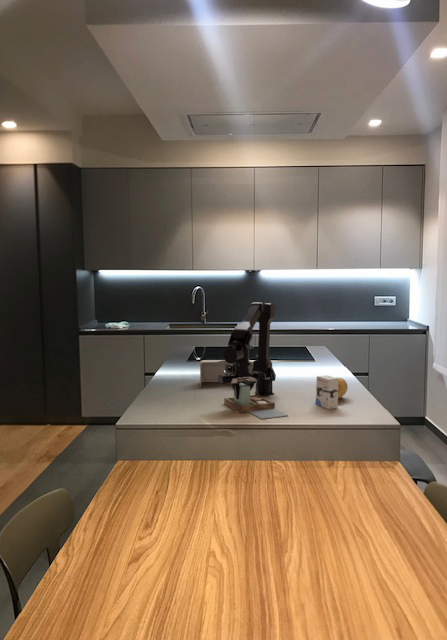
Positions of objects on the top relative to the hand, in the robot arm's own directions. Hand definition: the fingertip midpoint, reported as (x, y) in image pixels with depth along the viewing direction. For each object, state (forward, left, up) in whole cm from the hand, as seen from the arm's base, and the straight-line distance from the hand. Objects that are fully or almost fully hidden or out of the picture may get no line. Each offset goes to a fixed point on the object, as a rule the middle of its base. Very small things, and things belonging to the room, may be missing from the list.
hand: (241, 398), depth 202 cm
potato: (-39, +5, -4) cm, 40 cm away
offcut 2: (-7, +4, -4) cm, 9 cm away
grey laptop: (-11, -40, -4) cm, 42 cm away
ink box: (-31, +13, -4) cm, 34 cm away
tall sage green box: (0, 0, -4) cm, 4 cm away
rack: (-3, 0, -4) cm, 5 cm away
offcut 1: (-7, -2, -3) cm, 8 cm away
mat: (-5, +14, -4) cm, 15 cm away
